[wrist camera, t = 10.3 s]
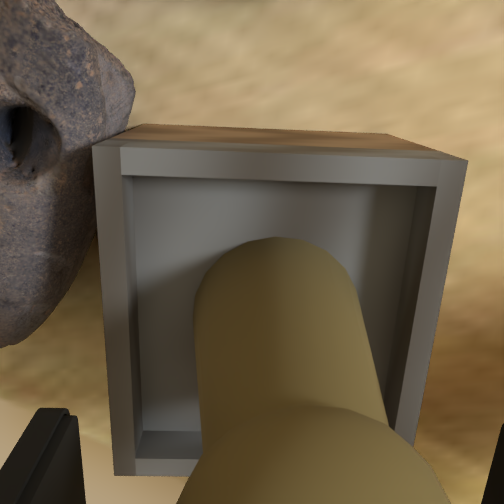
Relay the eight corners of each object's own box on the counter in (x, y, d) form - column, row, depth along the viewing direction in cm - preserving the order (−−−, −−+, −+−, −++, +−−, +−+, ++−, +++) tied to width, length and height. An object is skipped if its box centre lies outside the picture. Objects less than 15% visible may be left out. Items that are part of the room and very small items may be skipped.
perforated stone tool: (77, 328, 25) (19, 417, 18) (-26, 295, 24) (-125, 375, 17) (170, 36, 20) (138, 13, 14) (48, -17, 19) (-49, -69, 13)
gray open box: (387, 134, 22) (468, 160, 14) (356, 361, 26) (407, 478, 18) (144, 123, 21) (91, 146, 14) (151, 357, 25) (114, 475, 18)
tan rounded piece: (174, 365, 18) (84, 757, 7) (217, 215, 16) (174, 459, 6) (326, 402, 18) (437, 806, 8) (384, 262, 17) (623, 556, 6)
